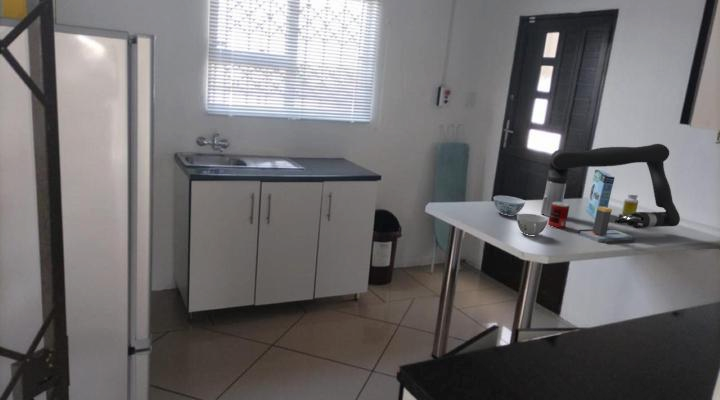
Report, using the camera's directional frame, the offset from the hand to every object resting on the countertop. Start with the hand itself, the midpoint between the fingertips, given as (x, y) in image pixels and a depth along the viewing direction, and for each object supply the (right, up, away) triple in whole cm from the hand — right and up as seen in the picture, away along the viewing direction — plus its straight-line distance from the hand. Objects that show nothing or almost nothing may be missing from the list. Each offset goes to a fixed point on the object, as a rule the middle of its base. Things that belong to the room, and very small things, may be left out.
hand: (616, 221), depth 232 cm
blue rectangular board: (-5, -7, 0) cm, 9 cm away
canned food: (-23, -3, +11) cm, 25 cm away
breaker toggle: (-9, -5, -2) cm, 11 cm away
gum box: (+9, +1, +40) cm, 41 cm away
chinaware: (-42, +2, +24) cm, 49 cm away
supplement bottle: (+28, 0, +44) cm, 52 cm away
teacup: (-42, -6, -9) cm, 43 cm away
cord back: (-7, -5, +6) cm, 11 cm away
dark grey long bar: (-2, -9, -6) cm, 11 cm away
